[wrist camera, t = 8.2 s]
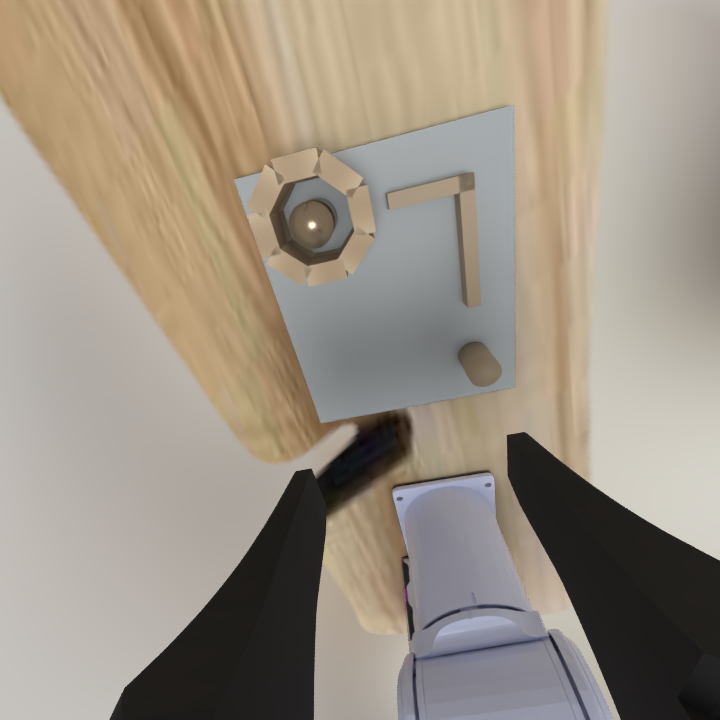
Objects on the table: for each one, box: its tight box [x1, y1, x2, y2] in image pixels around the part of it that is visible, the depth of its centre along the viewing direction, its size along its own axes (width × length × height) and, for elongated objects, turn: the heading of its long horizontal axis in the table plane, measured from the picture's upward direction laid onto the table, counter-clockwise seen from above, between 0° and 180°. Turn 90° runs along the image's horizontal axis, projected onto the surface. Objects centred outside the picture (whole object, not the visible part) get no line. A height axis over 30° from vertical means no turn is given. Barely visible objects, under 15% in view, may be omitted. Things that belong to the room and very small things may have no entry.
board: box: [234, 105, 515, 423], centre depth 18 cm, size 15×13×3 cm
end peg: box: [289, 198, 338, 249], centre depth 15 cm, size 2×2×4 cm
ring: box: [247, 147, 376, 287], centre depth 15 cm, size 5×5×3 cm
